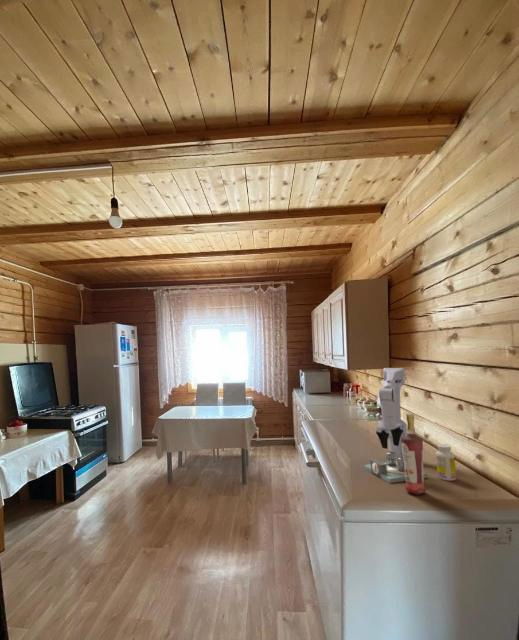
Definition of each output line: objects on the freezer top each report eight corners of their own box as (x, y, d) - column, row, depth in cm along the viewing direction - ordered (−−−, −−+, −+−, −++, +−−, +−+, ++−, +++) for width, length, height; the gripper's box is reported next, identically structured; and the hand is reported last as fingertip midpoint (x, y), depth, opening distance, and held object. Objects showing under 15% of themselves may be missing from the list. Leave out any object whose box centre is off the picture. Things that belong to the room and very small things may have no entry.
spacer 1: (389, 462, 151) (389, 450, 151) (398, 464, 147) (397, 453, 148) (383, 464, 149) (383, 452, 149) (392, 466, 145) (391, 454, 145)
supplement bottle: (454, 476, 138) (451, 444, 140) (458, 482, 132) (455, 448, 133) (436, 474, 140) (434, 443, 142) (439, 480, 134) (436, 447, 136)
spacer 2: (404, 468, 143) (403, 455, 144) (411, 471, 139) (410, 458, 139) (395, 469, 142) (394, 457, 142) (402, 472, 138) (401, 460, 138)
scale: (398, 464, 155) (397, 452, 155) (427, 477, 137) (426, 464, 138) (363, 468, 150) (362, 456, 150) (388, 483, 132) (387, 469, 133)
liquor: (431, 495, 120) (425, 415, 123) (413, 497, 119) (407, 417, 122) (417, 487, 127) (412, 412, 131) (400, 489, 126) (395, 413, 129)
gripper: (391, 412, 157) (393, 442, 155) (370, 416, 150) (372, 447, 148) (404, 414, 151) (407, 445, 149) (383, 418, 144) (385, 451, 142)
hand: (390, 446), depth 148 cm, fingers open, 7 cm apart
